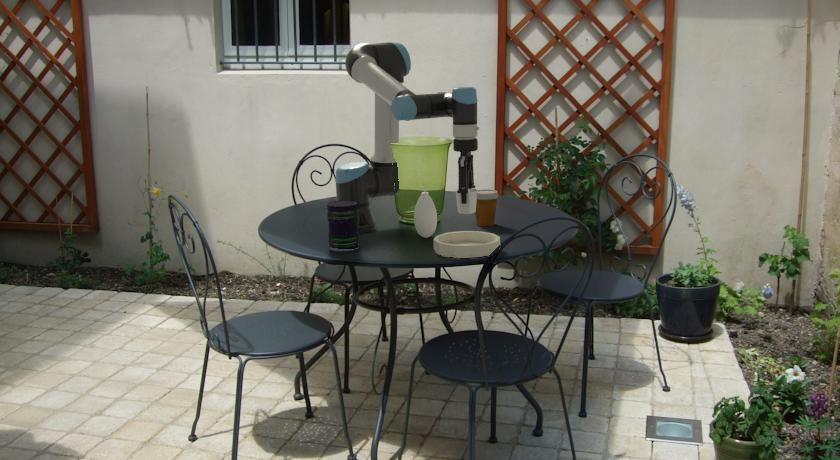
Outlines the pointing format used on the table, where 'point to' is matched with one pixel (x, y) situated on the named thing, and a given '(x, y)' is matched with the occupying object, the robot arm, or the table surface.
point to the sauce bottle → (425, 215)
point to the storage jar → (343, 224)
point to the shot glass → (471, 200)
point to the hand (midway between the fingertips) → (466, 211)
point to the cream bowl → (466, 244)
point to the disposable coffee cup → (486, 207)
